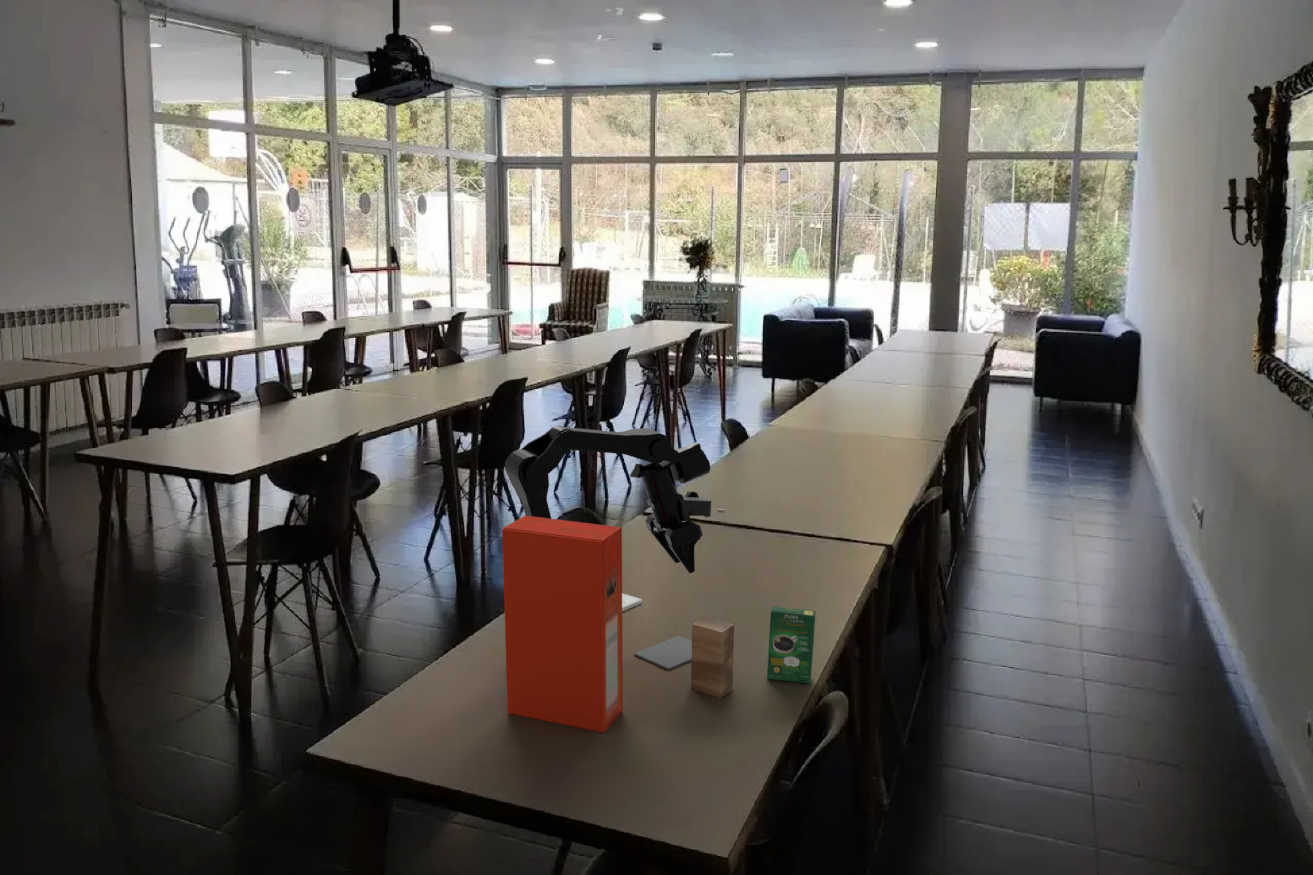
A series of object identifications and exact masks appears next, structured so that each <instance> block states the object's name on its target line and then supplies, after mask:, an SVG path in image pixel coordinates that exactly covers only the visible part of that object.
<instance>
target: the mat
mask: <svg viewBox="0 0 1313 875" xmlns="http://www.w3.org/2000/svg"><path fill="white" fill-rule="evenodd" d="M633 655H634V656H635V657H637V658H639V659H642V660H644V661H647V662H649V663H650V664H654V665H656V666H657V667H660V668H662V669H665V670H667V671H670V670H672V669H675V668H677V667H680V666H682V665H685V664H686V663H689V662H692V639H689V638H686V637H683V636H681V635H677V636H675V637H672V638H670V639H668V640H665V641H662V642H659V643H657V644H654V645H652V646H649V647H647V648H645V649H642V650H639V651H637V652H635V653H634V654H633Z"/></svg>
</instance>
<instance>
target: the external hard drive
mask: <svg viewBox="0 0 1313 875" xmlns="http://www.w3.org/2000/svg"><path fill="white" fill-rule="evenodd" d="M642 603H643V599H642V598H639V597H636V596H633V595H630V594H627V593H623V592H622V613H623V612H625V611H628V610H630V609H632V608H635V607H637V606H639V605H641V604H642Z"/></svg>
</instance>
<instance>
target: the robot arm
mask: <svg viewBox="0 0 1313 875" xmlns="http://www.w3.org/2000/svg"><path fill="white" fill-rule="evenodd" d="M570 451H578V452H579V451H582V452H591V453H592V452H593V453H605V454H616V455H617V454H619V455H625V456H629V457H632V458H635V459H638V460H641V461H645V462H648V463H645V464H642V463H635V465H634V468H633V469H632V471H631V472H630V474H629V476H630V478H635V479H640V478H642V482H643V485H644V488H645V492H646V494H647V495H646V496H647V498H648V499H647V500H646V502H647V505H648V506H649V507H650V508H651V511H652V513H651V514H649V515H647V518H646V519H645V521H644V522H645V525H646V528H647V531H650V534H651V535H652V537H653V538H655V540H656V541H657V543H658V544H659V545H660V546H661V547H662V549H664V552H666V553H667V555H668V556H669V557H670V559H671V560H672V561H673V562H674V563H675V564H678V563H681V565H683V566H682V567H684V568H685V570H686V571H687V572H688V573H689V574H692V573H695V568H696V567H695V565H696V564H695V546H696V544H697V543H698V541H700V540H701V539H702V536H703V531H702V528H701V525H700V524H697V523H696V522H693V521H692V520H691V517H692V516H693V517H697V516H698V517H705V518H710V517H711V516H712V500H711V499H709V498H707V497H703V496H699V494H698V492H697V491H694V490H693V491H692V490H689V491H687V492H686V494H685V496H684V495H683V494H681V493H680V492H679V491H678V490H677V486H676V482H679V483H680V484H683V485H684V484H686V483H690V482H692V481H694V480H697V479H698V478H701V477H703V476H705V475H708V474H710V472H711V463H710V462H711V461H710V460H709V459H708V457H707V455H706V453H705V452H704V450H703V449H702V447H701V444H700V443H699V442H695V441H693V442H691V443H688V444H687V445H686V446H685V445H684V446H683V447H680V448H678V449H675V448H674V447H672V445H671V442H670V440H669V438H668V436H667V435H665V434H664V433H661V432H658V431H655V430H653V429H650V428H645V427H643V428H641V427H640V428H634V429H632V428H631V429H628V430H624V431H612V430H610V431H609V430H598V429H590V428H589V429H588V428H577V427H566V426H563V425H555V426H552V427H551V428H550V429H549V430H547V431H546V432H545V433H544V434H542V435H540V436H539V437H537V438H534V439H533V440H531V441H529V442H528V443H526V445H523V447H522V448H520V449H517V450H514V451H512V452H511V453H510V454H509V455H508V456H507V458H506V460H505V462H504V470H505V473H506V475H507V477H508V480H509V482H510V483H511V486H512V488H513V489H514V491H515V492H516V494H517V496H518V497H519V499H520V501H521V504H522V507H523V512H524V516H533V517H541V518H549V519H552V517H551V511H550V507H549V503H548V492H549V487H550V477H549V476H550V473H551V472H552V471H553V470H555V469H556V468H557V467H558V466H559V464H560V463H561V461H562V460H563V458H564V456H565V455H566V454H567V453H569V452H570ZM675 481H676V482H675ZM690 516H691V517H690Z"/></svg>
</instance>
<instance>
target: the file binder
mask: <svg viewBox="0 0 1313 875" xmlns="http://www.w3.org/2000/svg"><path fill="white" fill-rule="evenodd" d="M501 533H502V537H501V538H502V539H501V540H502V564H503V565H502V566H503V569H502V570H503V572H502V573H503V597H504V598H503V599H504V600H503V601H504V603H503V604H504V634H505V664H506V666H505V667H506V671H505V672H506V673H505V674H506V697H507V698H506V699H507V700H506V702H507V713H508V714H509V715H515V716H519V717H525V718H530V719H534V720H538V721H544V722H550V723H555V724H559V725H564V726H569V727H573V728H577V729H583V730H589V731H594V732H599V733H605V732H606V731H607V730H608V728H610V726H611V725H612V724H613V723H614V722H615V720H617V719H618V717H619V716H620V715H621V714H622V711H623V710H624V709H623V708H624V707H623V706H624V705H623V702H624V701H623V696H624V695H623V612H622V593H623V528H622V526H621V527H620V526H615V525H614V526H613V525H612V526H611V525H607V524H606V525H605V524H596V523H590V522H589V523H588V522H581V521H572V520H564V519H558V518H557V519H556V518H551V519H549V518H541V517H533V516H525V515H523V516H522V517H520V518H518V519H516V520H515V521H513V522H511V523H510V524H508V525H506V526H504V527H503V528H502V529H501Z"/></svg>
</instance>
